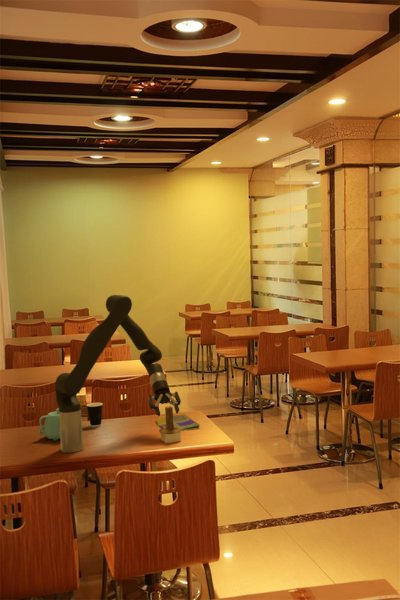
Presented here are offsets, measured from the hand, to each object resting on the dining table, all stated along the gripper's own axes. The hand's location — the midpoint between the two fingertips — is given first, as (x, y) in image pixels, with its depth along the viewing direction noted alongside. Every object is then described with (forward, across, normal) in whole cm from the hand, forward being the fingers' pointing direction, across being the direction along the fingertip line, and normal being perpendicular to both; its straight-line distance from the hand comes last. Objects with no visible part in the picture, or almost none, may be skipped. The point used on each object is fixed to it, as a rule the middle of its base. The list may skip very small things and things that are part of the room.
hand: (168, 413), depth 279 cm
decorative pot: (-14, -43, +30) cm, 55 cm away
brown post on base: (+6, 0, +4) cm, 8 cm away
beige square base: (+9, 0, +7) cm, 12 cm away
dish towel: (-7, +11, +25) cm, 28 cm away
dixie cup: (-22, -24, +39) cm, 51 cm away
